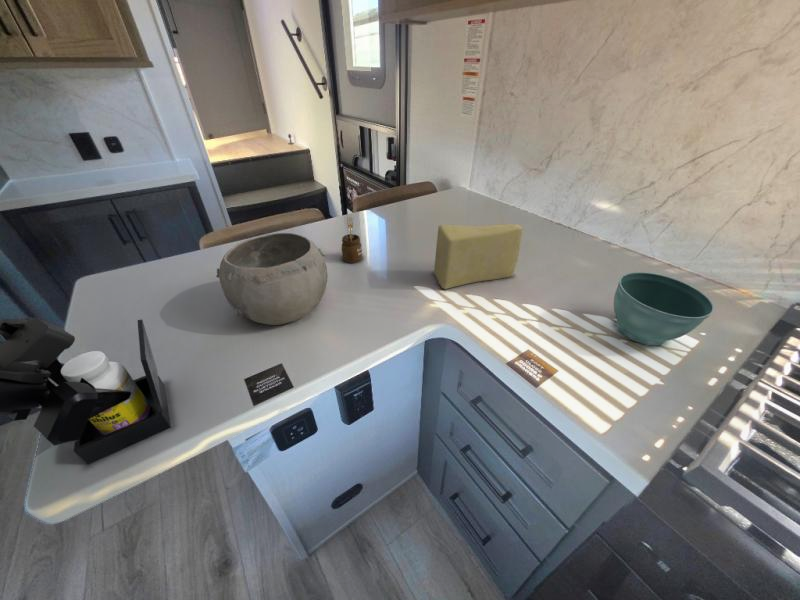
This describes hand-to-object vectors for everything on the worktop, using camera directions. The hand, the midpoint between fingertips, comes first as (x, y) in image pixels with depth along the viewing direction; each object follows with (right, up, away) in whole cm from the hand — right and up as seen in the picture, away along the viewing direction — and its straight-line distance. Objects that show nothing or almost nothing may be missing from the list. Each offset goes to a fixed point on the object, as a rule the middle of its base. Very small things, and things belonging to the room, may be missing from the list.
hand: (116, 386), depth 48 cm
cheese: (+64, +19, +41) cm, 78 cm away
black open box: (-1, -6, +3) cm, 7 cm away
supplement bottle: (-1, -6, +3) cm, 7 cm away
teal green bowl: (+97, +6, +24) cm, 100 cm away
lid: (+4, +3, +1) cm, 5 cm away
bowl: (+14, +12, +29) cm, 35 cm away
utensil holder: (+28, +25, +49) cm, 62 cm away
